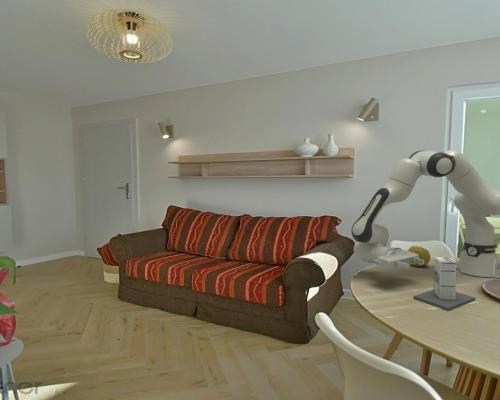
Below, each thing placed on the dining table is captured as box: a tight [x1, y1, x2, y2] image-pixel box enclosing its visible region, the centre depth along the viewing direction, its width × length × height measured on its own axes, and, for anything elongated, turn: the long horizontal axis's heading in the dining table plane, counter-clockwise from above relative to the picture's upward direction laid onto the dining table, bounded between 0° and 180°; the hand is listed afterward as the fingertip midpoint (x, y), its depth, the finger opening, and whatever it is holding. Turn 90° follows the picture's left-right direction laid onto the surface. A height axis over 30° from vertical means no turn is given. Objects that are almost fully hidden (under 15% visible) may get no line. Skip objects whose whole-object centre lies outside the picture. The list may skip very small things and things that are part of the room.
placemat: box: [412, 289, 476, 311], centre depth 125 cm, size 18×13×1 cm
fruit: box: [407, 245, 431, 267], centre depth 169 cm, size 10×11×10 cm
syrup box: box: [433, 256, 457, 300], centre depth 124 cm, size 6×6×14 cm
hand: (416, 264), depth 134 cm, fingers open, 8 cm apart
